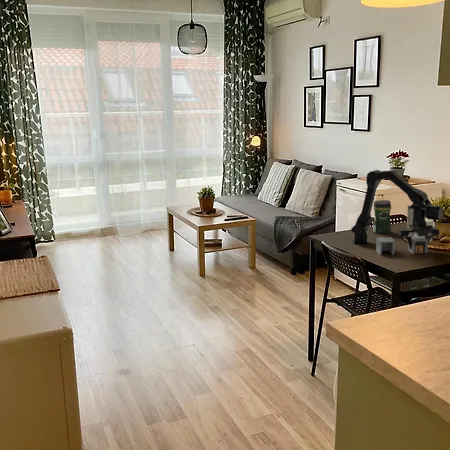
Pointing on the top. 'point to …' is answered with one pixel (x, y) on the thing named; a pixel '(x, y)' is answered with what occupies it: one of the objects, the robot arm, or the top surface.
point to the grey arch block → (418, 240)
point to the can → (428, 223)
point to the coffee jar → (382, 216)
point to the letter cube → (418, 248)
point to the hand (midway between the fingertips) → (417, 248)
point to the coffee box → (409, 219)
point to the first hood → (385, 245)
